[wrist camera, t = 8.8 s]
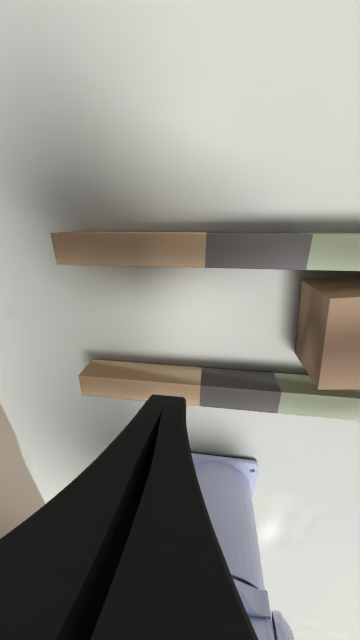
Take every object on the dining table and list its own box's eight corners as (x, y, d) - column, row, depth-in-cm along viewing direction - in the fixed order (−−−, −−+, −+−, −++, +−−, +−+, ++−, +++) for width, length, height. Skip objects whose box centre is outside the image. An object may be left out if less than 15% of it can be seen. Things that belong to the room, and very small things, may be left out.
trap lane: (469, 408, 19) (513, 440, 16) (95, 377, 22) (79, 399, 20) (572, 233, 14) (662, 236, 11) (71, 231, 18) (45, 233, 15)
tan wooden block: (378, 351, 18) (427, 389, 14) (295, 353, 19) (317, 389, 15) (396, 273, 16) (460, 291, 12) (301, 280, 17) (330, 298, 13)
